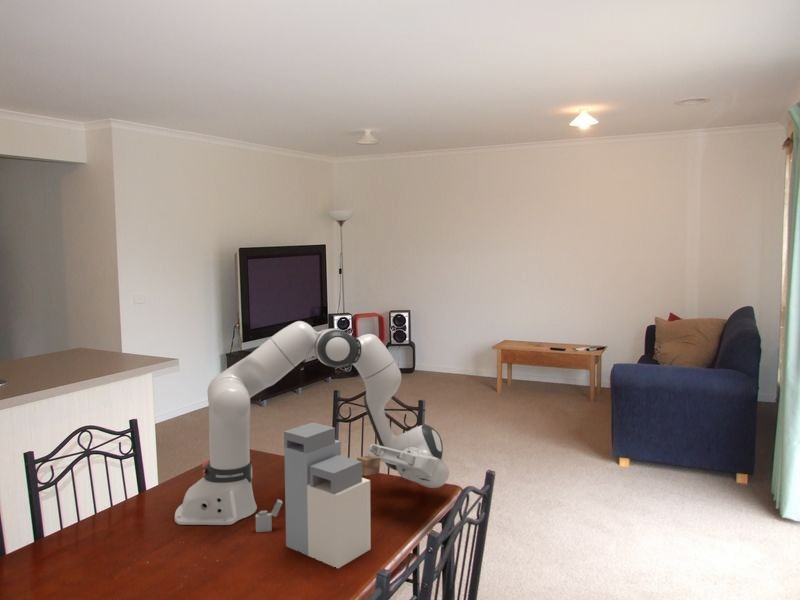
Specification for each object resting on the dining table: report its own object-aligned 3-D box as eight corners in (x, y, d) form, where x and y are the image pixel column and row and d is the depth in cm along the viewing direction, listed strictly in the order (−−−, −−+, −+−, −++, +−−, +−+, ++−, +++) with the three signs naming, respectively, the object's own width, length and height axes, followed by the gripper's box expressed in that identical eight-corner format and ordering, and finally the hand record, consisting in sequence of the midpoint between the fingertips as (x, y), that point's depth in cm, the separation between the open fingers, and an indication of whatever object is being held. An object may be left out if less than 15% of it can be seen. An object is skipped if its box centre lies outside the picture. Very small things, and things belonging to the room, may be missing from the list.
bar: (370, 470, 170) (371, 455, 170) (379, 472, 168) (380, 457, 168) (326, 478, 156) (328, 462, 157) (335, 481, 155) (337, 464, 155)
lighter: (256, 532, 170) (255, 503, 170) (255, 529, 172) (255, 501, 171) (283, 529, 172) (282, 500, 171) (282, 526, 174) (282, 498, 173)
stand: (319, 529, 172) (318, 420, 169) (370, 549, 161) (369, 433, 158) (286, 546, 163) (283, 431, 160) (337, 568, 152) (336, 445, 149)
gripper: (387, 445, 189) (360, 433, 179) (444, 460, 177) (419, 447, 166) (380, 466, 187) (352, 455, 177) (438, 483, 175) (411, 471, 164)
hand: (385, 451), depth 172 cm, fingers open, 8 cm apart
